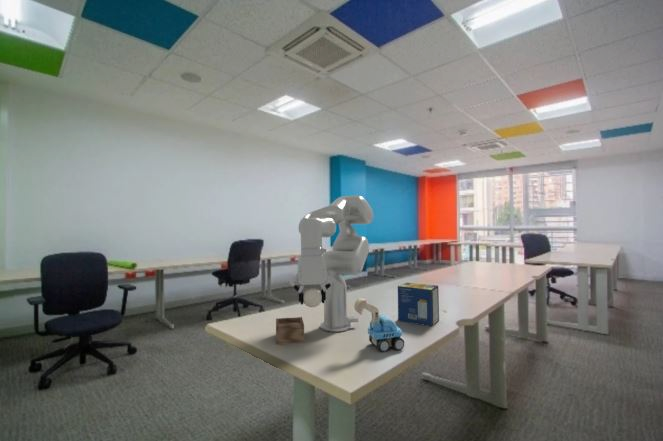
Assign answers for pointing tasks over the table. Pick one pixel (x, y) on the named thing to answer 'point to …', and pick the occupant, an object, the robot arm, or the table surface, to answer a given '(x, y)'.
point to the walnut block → (289, 330)
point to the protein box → (418, 303)
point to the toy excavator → (381, 328)
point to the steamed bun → (312, 297)
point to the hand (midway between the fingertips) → (312, 302)
